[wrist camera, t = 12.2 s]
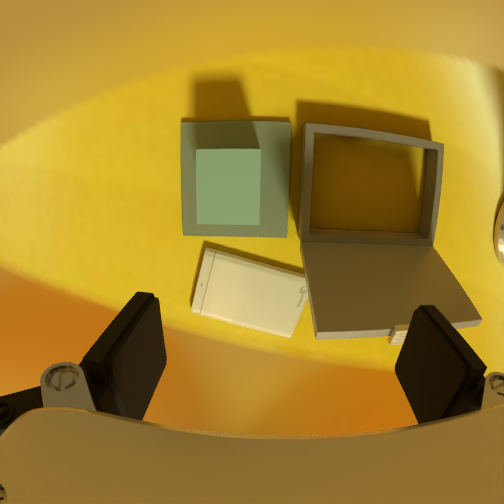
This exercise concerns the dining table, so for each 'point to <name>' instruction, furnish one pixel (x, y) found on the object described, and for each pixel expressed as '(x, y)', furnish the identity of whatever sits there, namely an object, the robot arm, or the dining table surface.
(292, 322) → the hard drive
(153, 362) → the robot arm
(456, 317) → the lid
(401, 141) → the case
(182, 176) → the mat
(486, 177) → the dining table surface
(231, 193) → the block
